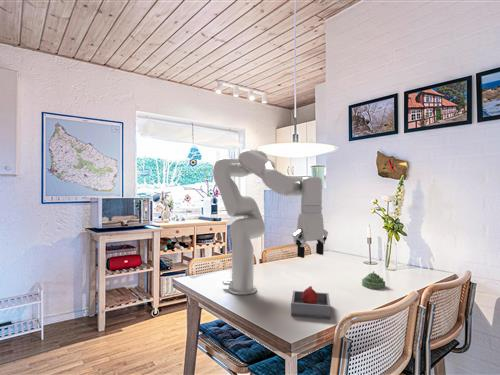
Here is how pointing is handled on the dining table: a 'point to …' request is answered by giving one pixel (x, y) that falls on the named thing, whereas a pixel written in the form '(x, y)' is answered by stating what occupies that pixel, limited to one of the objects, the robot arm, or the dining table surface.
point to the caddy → (311, 306)
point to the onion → (309, 296)
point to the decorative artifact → (373, 281)
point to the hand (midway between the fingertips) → (310, 255)
